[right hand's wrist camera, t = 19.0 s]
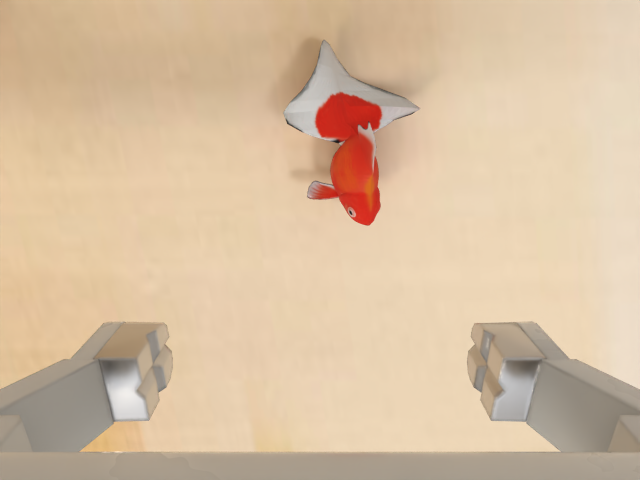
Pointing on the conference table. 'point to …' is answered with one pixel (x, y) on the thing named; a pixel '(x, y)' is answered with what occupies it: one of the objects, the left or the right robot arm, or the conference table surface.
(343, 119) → the fish
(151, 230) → the conference table surface
